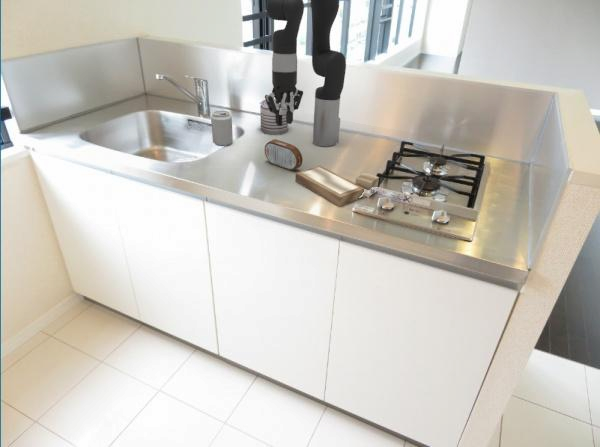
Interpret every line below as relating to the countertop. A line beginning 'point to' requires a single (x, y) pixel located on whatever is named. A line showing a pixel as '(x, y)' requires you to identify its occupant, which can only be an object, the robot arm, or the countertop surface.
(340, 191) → the block
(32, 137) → the countertop surface
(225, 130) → the can
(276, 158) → the tin
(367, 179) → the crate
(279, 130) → the can
